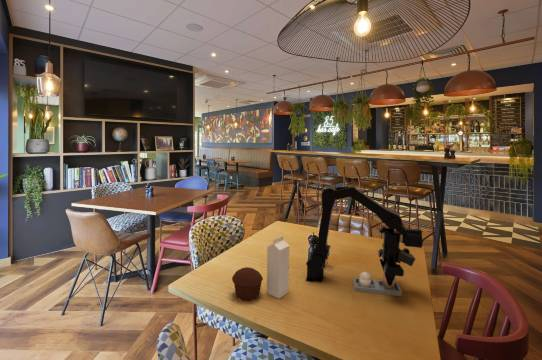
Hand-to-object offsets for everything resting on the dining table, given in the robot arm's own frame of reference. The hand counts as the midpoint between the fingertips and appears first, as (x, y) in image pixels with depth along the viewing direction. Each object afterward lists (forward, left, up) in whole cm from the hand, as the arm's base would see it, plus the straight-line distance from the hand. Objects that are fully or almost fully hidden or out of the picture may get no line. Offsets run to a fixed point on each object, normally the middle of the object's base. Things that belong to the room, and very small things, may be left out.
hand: (388, 282), depth 113 cm
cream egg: (-9, 0, -3) cm, 9 cm away
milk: (-42, -11, -4) cm, 44 cm away
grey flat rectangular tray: (-4, 0, -3) cm, 5 cm away
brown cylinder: (0, 0, -1) cm, 1 cm away
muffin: (-53, -15, -4) cm, 55 cm away
